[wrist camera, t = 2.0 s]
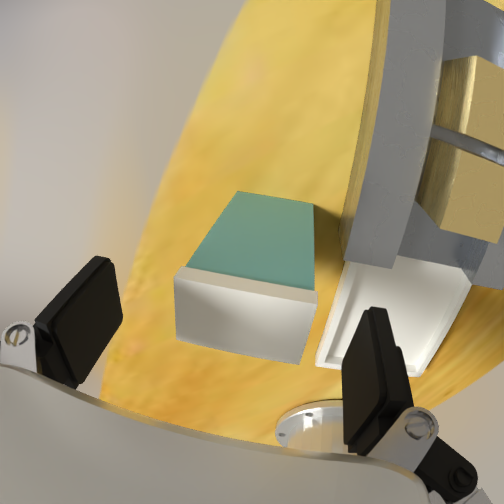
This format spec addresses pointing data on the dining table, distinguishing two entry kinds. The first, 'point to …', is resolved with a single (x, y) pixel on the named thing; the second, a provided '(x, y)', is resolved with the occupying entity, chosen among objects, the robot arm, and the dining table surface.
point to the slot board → (457, 44)
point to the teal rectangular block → (251, 281)
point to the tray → (395, 308)
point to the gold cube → (473, 100)
